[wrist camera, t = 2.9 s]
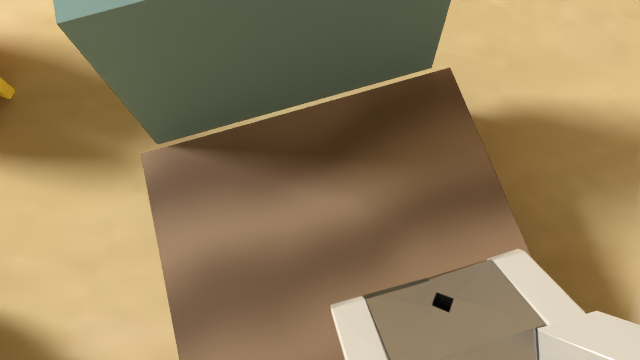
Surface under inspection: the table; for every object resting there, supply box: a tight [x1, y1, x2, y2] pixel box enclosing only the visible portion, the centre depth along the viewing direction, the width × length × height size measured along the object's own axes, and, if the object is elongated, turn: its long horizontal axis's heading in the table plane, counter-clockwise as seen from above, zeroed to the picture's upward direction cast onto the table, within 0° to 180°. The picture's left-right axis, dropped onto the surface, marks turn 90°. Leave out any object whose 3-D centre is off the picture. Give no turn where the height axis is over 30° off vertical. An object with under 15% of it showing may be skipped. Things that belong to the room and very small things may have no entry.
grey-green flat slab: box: [53, 0, 451, 144], centre depth 25 cm, size 3×16×11 cm, turn 105°
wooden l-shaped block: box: [141, 68, 532, 360], centre depth 26 cm, size 18×18×13 cm
